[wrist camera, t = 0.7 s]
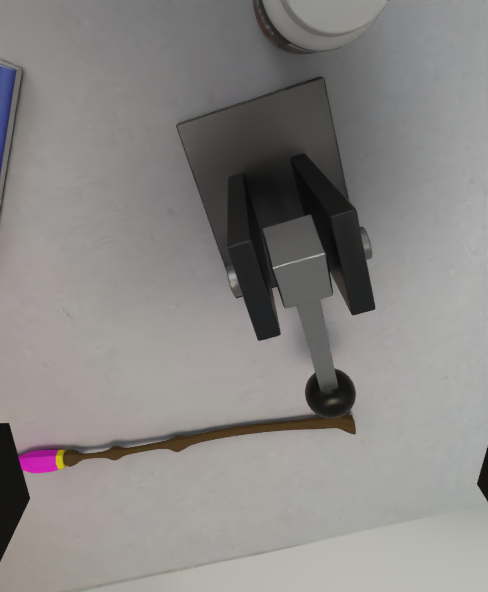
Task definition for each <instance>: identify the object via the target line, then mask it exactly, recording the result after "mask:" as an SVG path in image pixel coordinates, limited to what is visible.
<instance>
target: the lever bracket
mask: <svg viewBox="0 0 488 592" xmlns="http://www.w3.org/2000/svg"><path fill="white" fill-rule="evenodd" d="M176 127H177V130H178V133H179V136H180V139H181V141H182V144H183V147H184V150H185V153H186V156H187V159H188V162H189V165H190V167H191V170H192V173H193V176H194V179H195V182H196V185H197V188H198V191H199V193H200V196H201V199H202V202H203V205H204V208H205V211H206V214H207V217H208V219H209V222H210V225H211V228H212V231H213V234H214V237H215V240H216V243H217V245H218V248H219V251H220V254H221V257H222V260H223V263H224V266H225V269H226V271H227V276H228V280H229V284H230V287H231V290H232V292H233V294H234V296H235V297H236V298H239V297H242V296H243V298H244V301H245V304H246V307H247V310H248V313H249V316H250V318H251V321H252V324H253V327H254V330H255V333H256V336H257V339H258V341H261V340H265V339H268V338H272V337H276V336H279V335H280V334H281V332H280V327H279V322H278V317H277V312H276V307H275V301H274V296H273V291H272V288H274V287H277V284H276V281H275V278H274V275H273V271H272V268H271V264H270V260H269V256H268V253H267V249H266V245H265V241H264V237H263V233H262V229H263V228H266V227H269V226H273V225H276V224H279V223H283V222H286V221H290V220H293V219H296V218H300V217H303V216H306V215H310V214H311V215H312V216H313V218H314V221H315V224H316V226H317V229H318V232H319V235H320V237H321V240H322V243H323V245H324V248H325V251H326V254H327V260H328V265H329V271H330V272H331V274H332V276H333V278H334V280H335V282H336V284H337V286H338V288H339V290H340V292H341V294H342V296H343V298H344V300H345V302H346V304H347V306H348V308H349V310H350V312H351V314H352V315H357V314H360V313H364V312H368V311H371V310H375V303H374V297H373V292H372V287H371V282H370V277H369V272H368V267H367V262H366V260H369V259H371V258H372V249H371V244H370V240H369V237H368V234H367V232H366V230H365V229H364V227H360V226H359V221H358V216H357V211H356V209H355V208H354V206H353V205H352V204H351V203H350V202H349V199H348V194H347V189H346V184H345V179H344V174H343V169H342V164H341V159H340V154H339V150H338V145H337V140H336V135H335V130H334V125H333V120H332V115H331V110H330V105H329V100H328V95H327V90H326V85H325V80H324V77H318V78H315V79H312V80H309V81H306V82H303V83H300V84H297V85H294V86H291V87H288V88H285V89H282V90H279V91H276V92H272V93H269V94H266V95H263V96H260V97H257V98H254V99H251V100H248V101H245V102H242V103H239V104H236V105H233V106H230V107H227V108H224V109H221V110H218V111H215V112H212V113H209V114H205V115H202V116H199V117H196V118H193V119H190V120H187V121H184V122H181V123H178V124H177V125H176Z"/></svg>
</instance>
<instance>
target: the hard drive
mask: <svg viewBox="0 0 488 592" xmlns="http://www.w3.org/2000/svg"><path fill="white" fill-rule="evenodd" d="M21 74H22V69H21V68H19V67H17V66H14V65H12V64H9V63H7V62H4V61H2V60H0V206H1V200H2V193H3V187H4V181H5V175H6V169H7V162H8V156H9V149H10V143H11V137H12V131H13V124H14V118H15V111H16V105H17V99H18V93H19V87H20V80H21Z"/></svg>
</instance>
